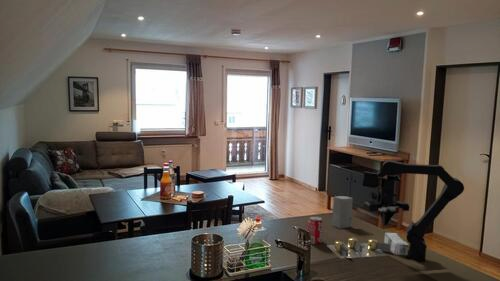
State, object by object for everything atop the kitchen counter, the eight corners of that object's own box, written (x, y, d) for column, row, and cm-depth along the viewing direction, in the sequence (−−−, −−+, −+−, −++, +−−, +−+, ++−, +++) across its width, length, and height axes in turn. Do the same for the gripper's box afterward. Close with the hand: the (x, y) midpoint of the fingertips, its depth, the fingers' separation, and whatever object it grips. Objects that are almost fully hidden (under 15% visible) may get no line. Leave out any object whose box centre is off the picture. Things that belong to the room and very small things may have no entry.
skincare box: (340, 229, 190) (342, 199, 188) (330, 225, 196) (332, 196, 194) (352, 227, 194) (354, 197, 192) (342, 223, 200) (344, 194, 198)
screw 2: (367, 249, 161) (367, 240, 161) (368, 245, 165) (368, 237, 165) (389, 252, 158) (390, 244, 157) (389, 249, 162) (390, 241, 161)
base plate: (388, 257, 156) (388, 254, 156) (340, 260, 151) (340, 257, 151) (370, 245, 169) (370, 242, 169) (326, 247, 165) (326, 244, 165)
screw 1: (332, 248, 160) (333, 240, 160) (341, 248, 161) (341, 239, 161) (342, 257, 151) (342, 248, 151) (351, 256, 152) (351, 248, 152)
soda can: (321, 240, 172) (322, 216, 171) (322, 246, 165) (324, 220, 164) (306, 239, 173) (307, 215, 172) (306, 245, 166) (308, 219, 165)
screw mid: (346, 245, 165) (346, 237, 165) (354, 244, 166) (355, 236, 166) (356, 253, 156) (357, 244, 156) (364, 252, 157) (365, 244, 157)
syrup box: (395, 244, 171) (408, 257, 157) (383, 244, 171) (394, 256, 157) (396, 232, 171) (409, 244, 156) (384, 232, 171) (395, 244, 156)
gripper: (396, 185, 165) (393, 219, 167) (358, 185, 161) (355, 220, 163) (411, 191, 154) (408, 227, 156) (371, 191, 150) (368, 228, 152)
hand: (384, 225), depth 157 cm, fingers closed
